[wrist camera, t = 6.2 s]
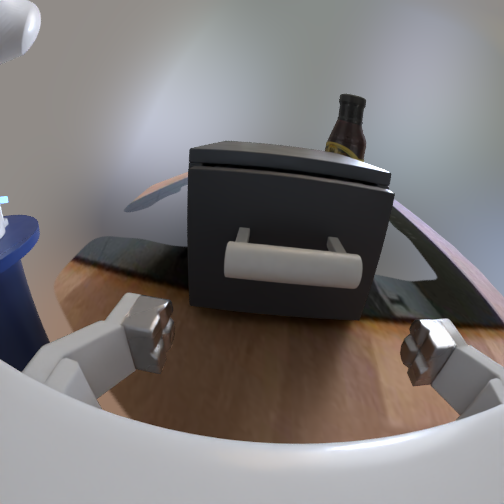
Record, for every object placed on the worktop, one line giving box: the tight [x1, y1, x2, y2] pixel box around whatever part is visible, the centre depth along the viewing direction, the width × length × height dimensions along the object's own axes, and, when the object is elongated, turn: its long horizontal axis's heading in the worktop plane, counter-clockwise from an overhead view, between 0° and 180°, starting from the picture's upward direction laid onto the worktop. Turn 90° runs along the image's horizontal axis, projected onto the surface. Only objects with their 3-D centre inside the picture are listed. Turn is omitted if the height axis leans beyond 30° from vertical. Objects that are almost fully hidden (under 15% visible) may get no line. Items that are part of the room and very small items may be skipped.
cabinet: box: [189, 141, 391, 190], centre depth 25 cm, size 15×13×11 cm
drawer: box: [187, 164, 395, 320], centre depth 20 cm, size 18×12×9 cm, turn 177°
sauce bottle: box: [325, 94, 366, 162], centre depth 39 cm, size 6×6×20 cm
